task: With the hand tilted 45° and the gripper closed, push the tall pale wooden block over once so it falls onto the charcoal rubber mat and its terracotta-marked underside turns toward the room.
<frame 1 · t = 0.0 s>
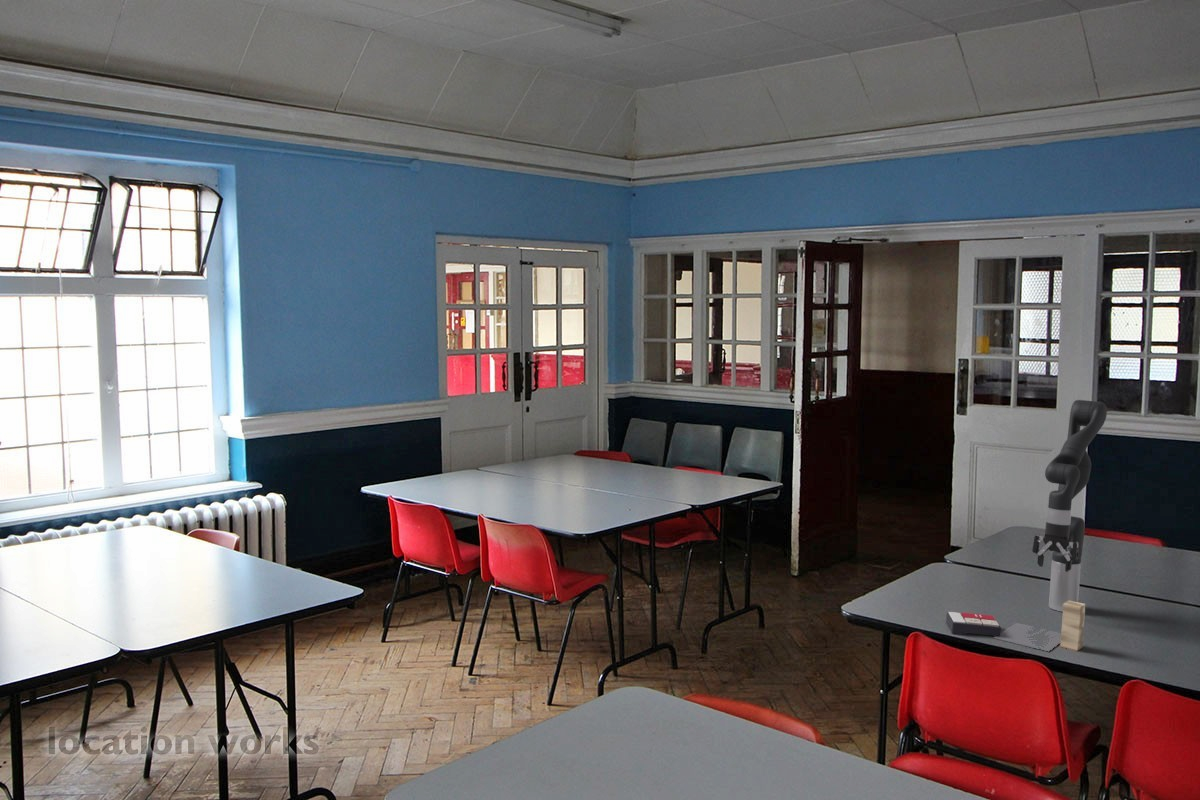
hand: (1053, 568, 332), 17 cm above the table, tool pointing down, fingers open, 8 cm apart
red white grey box: (972, 630, 321), on the table, touching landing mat
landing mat: (1031, 637, 315), on the table
tall block: (1071, 647, 307), on the table
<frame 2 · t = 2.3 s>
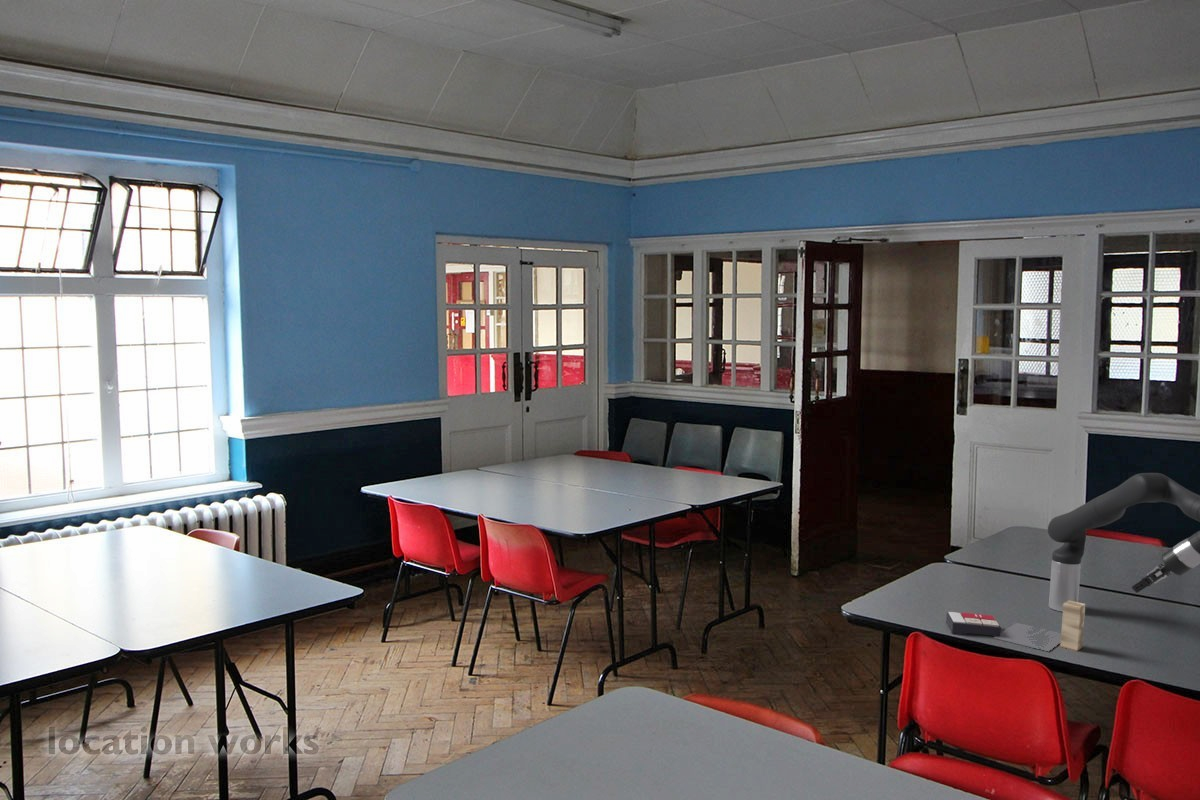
hand: (1138, 587, 292), 23 cm above the table, tool tilted 45°, fingers open, 8 cm apart
nothing on the table moved.
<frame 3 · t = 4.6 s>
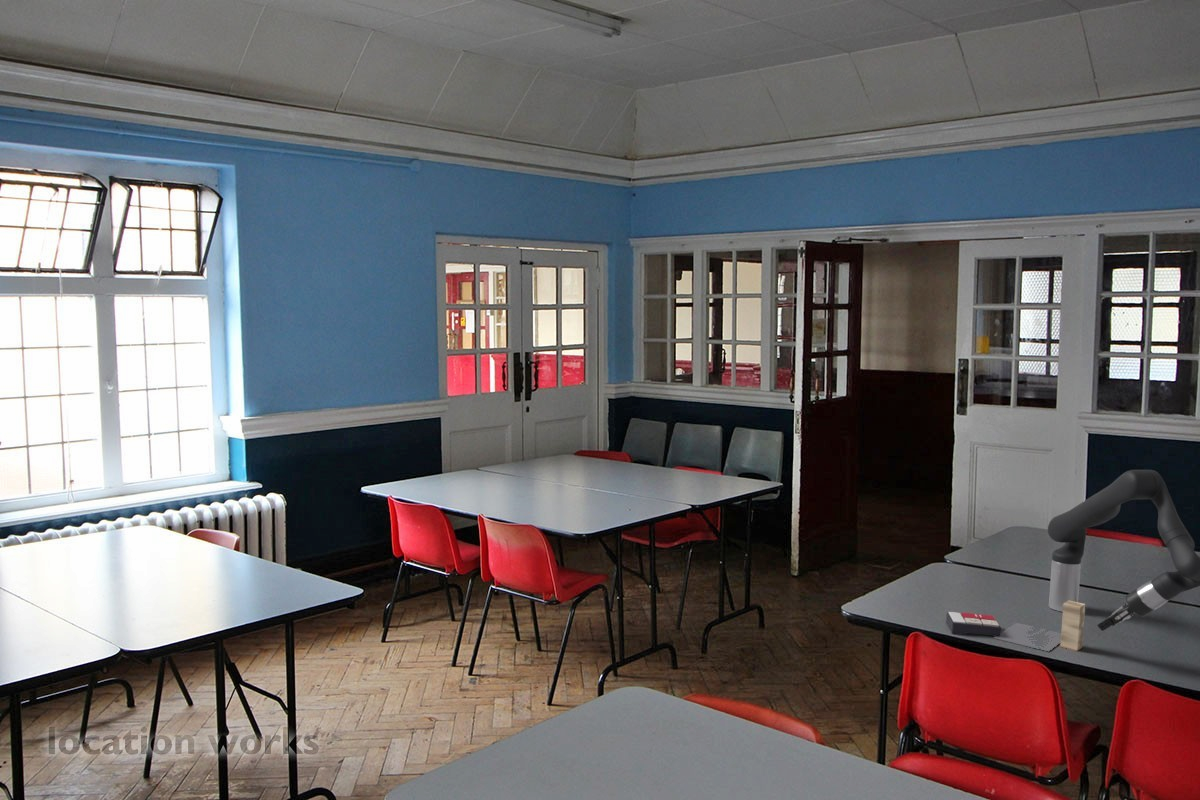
hand: (1100, 627, 300), 8 cm above the table, tool tilted 45°, fingers closed
nothing on the table moved.
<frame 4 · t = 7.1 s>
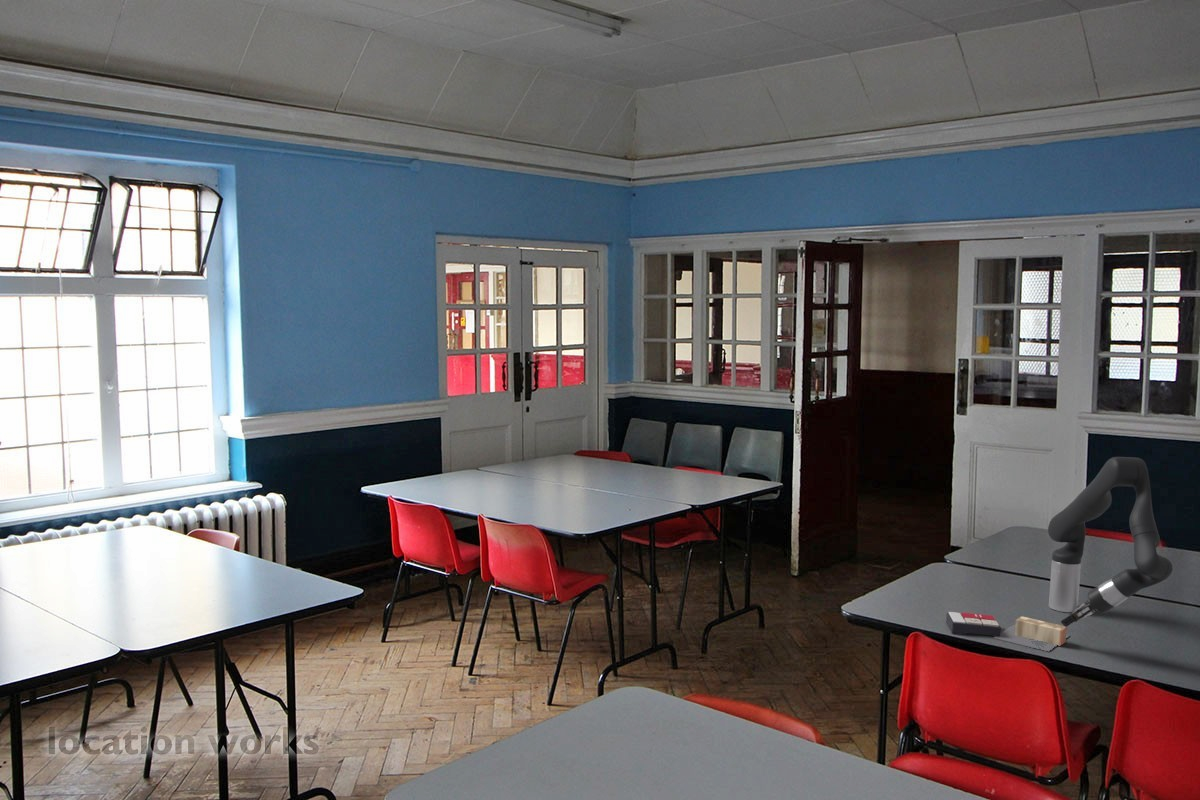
hand: (1063, 623, 308), 7 cm above the table, tool tilted 45°, fingers closed
tall block: (1063, 636, 308), point 3 cm above the table, tilted 90°, touching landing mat
everything else where it was.
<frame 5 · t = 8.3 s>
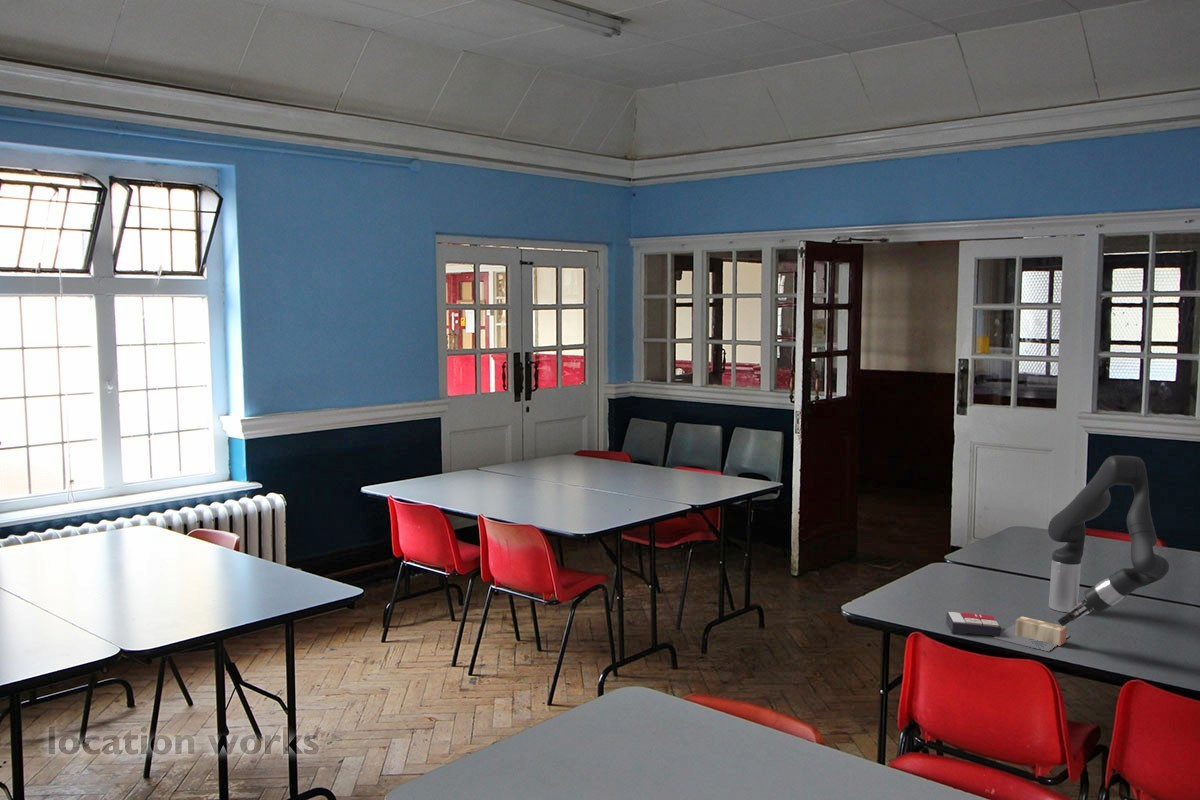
hand: (1060, 623, 308), 7 cm above the table, tool tilted 45°, fingers closed
nothing on the table moved.
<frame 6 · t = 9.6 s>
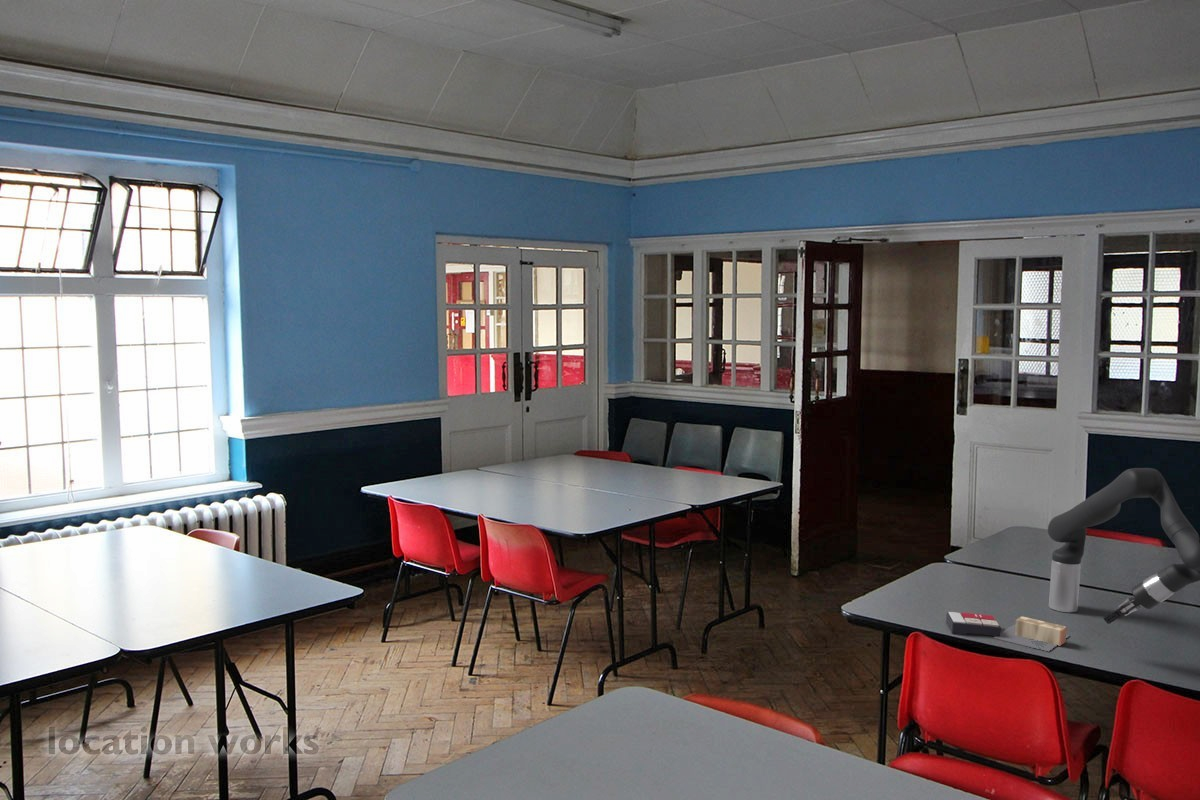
hand: (1106, 620, 299), 11 cm above the table, tool tilted 45°, fingers closed
nothing on the table moved.
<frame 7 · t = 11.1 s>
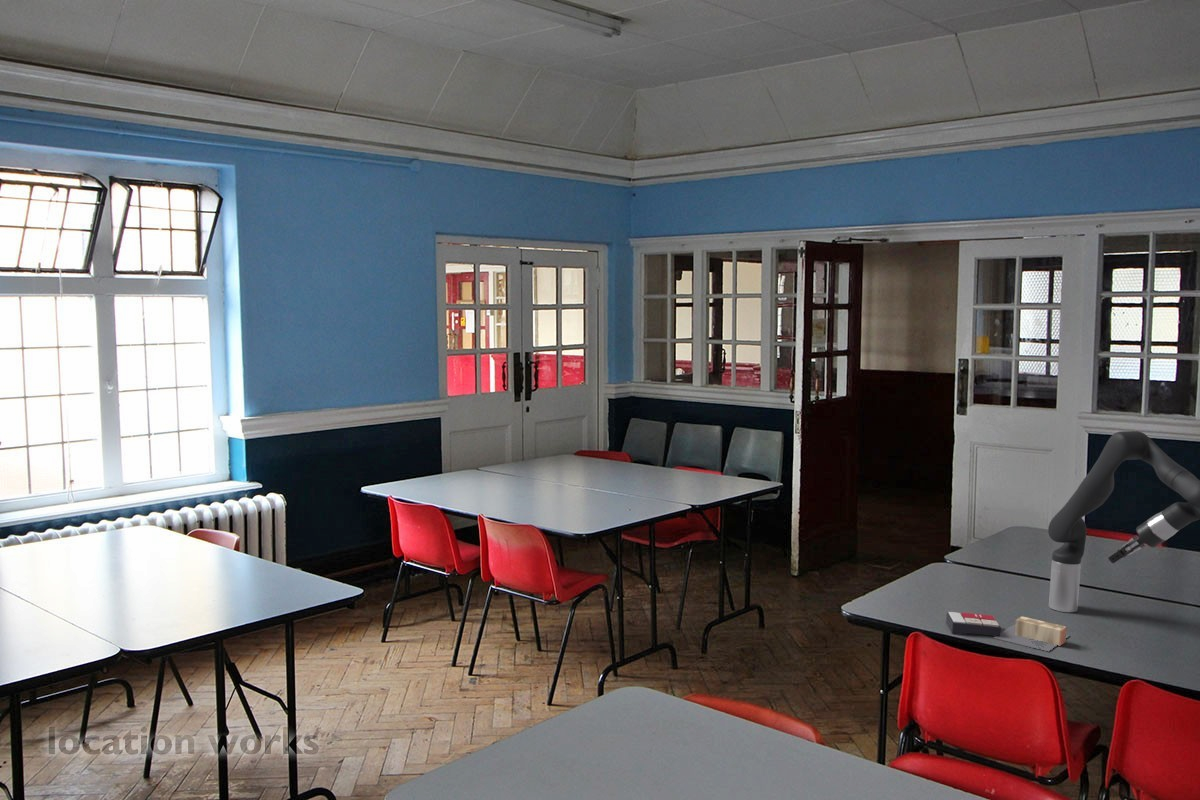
hand: (1110, 560, 304), 28 cm above the table, tool tilted 45°, fingers closed
nothing on the table moved.
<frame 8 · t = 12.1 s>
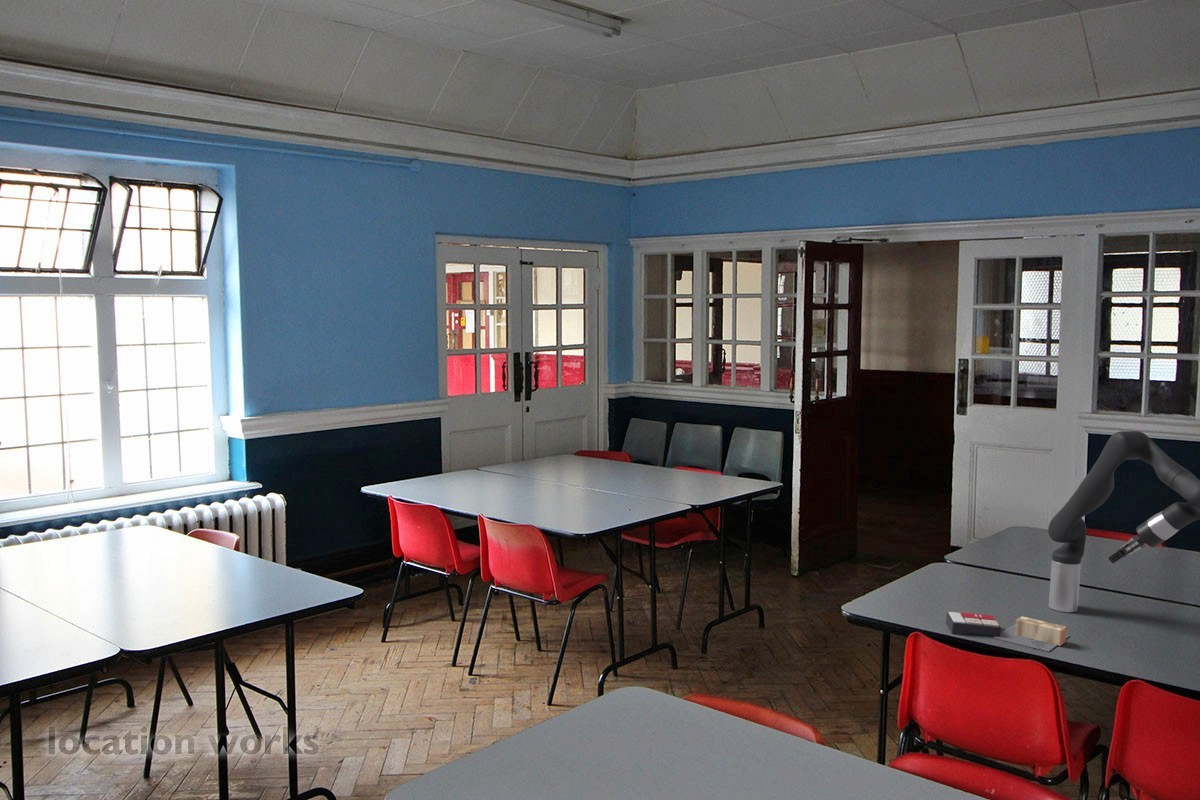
hand: (1110, 560, 304), 28 cm above the table, tool tilted 45°, fingers closed
nothing on the table moved.
at the end: tall block tilted 90°; tall block inside the target area (7.5 cm from its centre), point 2.8 cm above the table; red white grey box moved 0.0 cm from its start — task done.
